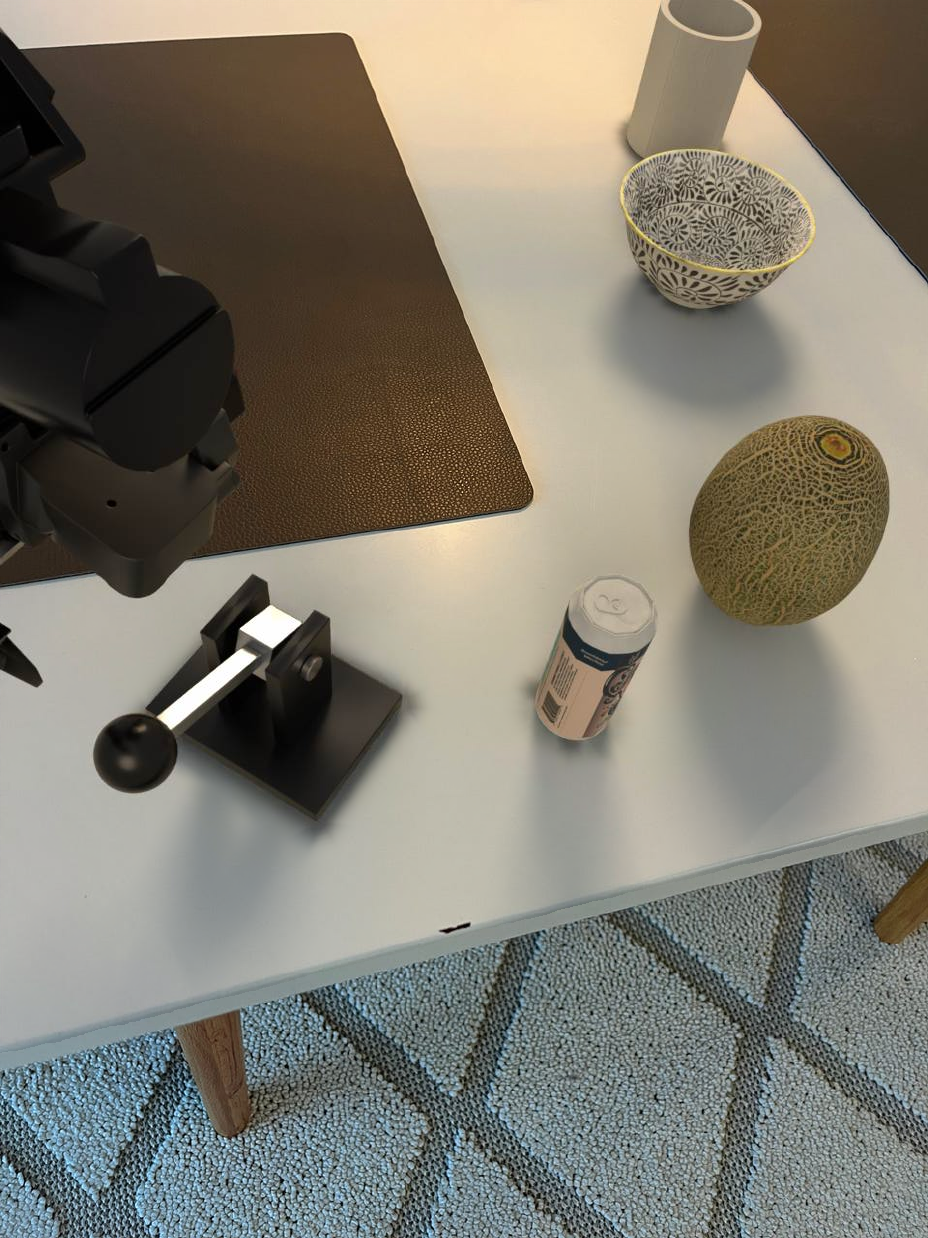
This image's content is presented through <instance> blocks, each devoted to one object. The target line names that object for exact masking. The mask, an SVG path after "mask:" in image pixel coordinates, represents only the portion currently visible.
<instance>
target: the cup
mask: <svg viewBox="0 0 928 1238" xmlns="http://www.w3.org/2000/svg"><path fill="white" fill-rule="evenodd" d="M762 24H763V23H762V19H761V17H760V15H759V13H758V12H757V11H756V10H755V9H754V8H753V6H751V5H749V4H748V3H747V2H745V1H743V0H661V1H660V4H659V7H658V11H657V16H656V20H655V23H654V28H653V32H652V35H651V38H650V44H649V47H648V51H647V55H646V58H645V62H644V66H643V70H642V74H641V76H640V77H641V78H640V82H639V84H638V89H637V92H636V97H635V101H634V105H633V109H632V113H631V116H630V119H629V124H628V128H627V131H626V138H627V142H628V144H629V146H630V148H631V149H632V150H633V151H634V152H635V153H636V154H637V155H638V156H640V157H641V158H643V160H644V159H646V158H648V157H651V156H653V155H656V154H659V153H663V152H667V151H673V150H680V149H705V150H713V151H719V149H720V147H721V145H722V141H723V138H724V135H725V132H726V129H727V127H728V124H729V121H730V118H731V115H732V112H733V109H734V107H735V104H736V101H737V98H738V96H739V92H740V90H741V86H742V83H743V80H744V78H745V76H746V72H747V69H748V66H749V63H750V62H751V61H750V60H751V58H752V54H753V52H754V50H755V46H756V43H757V40H758V38H759V34H760V32H761V29H762Z"/></svg>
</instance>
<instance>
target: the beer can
mask: <svg viewBox="0 0 928 1238" xmlns="http://www.w3.org/2000/svg"><path fill="white" fill-rule="evenodd" d="M658 624H659V619H658V611H657V607H656V605H655V600H654V599H653V598H652V596H651V594H650V593H649V592H648V590H647V589H646V588H645V585H643V583H642V582H640V581H638V580H636V579H633V578H631V577H630V576H627V575H626V574H623V573H621V572H620V573H607V574H597V575H596V576H595V577H592V578H589V579H588V580H585V581H584V582H583V583H582V584H580V585H579V586H577V588H576V589H575V590H574V591H573V593H572V595H571V596H570V599H569V602H568V604H567V607H566V610H565V613H564V616H563V618H562V621H561V623H560V627H559V629H558V632H557V635H556V637H555V640H554V644H553V646H552V649H551V652H550V655H549V657H548V660H547V662H546V665H545V668H544V671H543V673H542V676H541V679H540V682H539V685H538V688H537V690H536V693H535V697H534V698H535V703H534V706H535V711H536V714H537V716H538V718H539V719H540V721H541V723H542V724H543V725H544V726H545V727H546V729H547V730H549V731H550V732H551V733H553V734H554V735H556V736H558V737H560V738H563V739H566V740H571V741H583V740H584V741H585V740H588V739H589V740H590V739H591V738H594V737H596V736H598V735H599V734H600V733H601V732H602V731H604V730H605V728H606V727H607V726H608V724H609V722H610V721H611V719H612V717H613V715H614V713H615V711H616V709H617V708H618V705H619V703H620V702H621V700H622V698H623V697H624V694H625V693H626V690H627V689H628V687H629V685H630V683H631V681H632V678H633V677H634V675H635V674H636V671H637V670H638V667H639V665H640V664H641V662H642V660H643V659H644V656H645V654H646V652H647V651H648V649H649V647H650V646H651V643H652V641H653V639H654V638H655V636H656V633H657V629H658Z"/></svg>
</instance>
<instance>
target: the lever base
mask: <svg viewBox="0 0 928 1238" xmlns="http://www.w3.org/2000/svg"><path fill="white" fill-rule="evenodd" d="M268 583H269V582H268V581H266V580H265V579H263V578H262V577H260V576H258V575H256V574H255V573H251V575H250V576H249V577H248V578H247V579H246V580H245V581H244V582H243V583H242V584H241V586H240V587H239V588H238V589H237V590H236V591H235V592H234V593H233V595H231V597H230V598H229V599H228V600H227V601H226V602H225V603H224V604H223V605H222V607H221V608H219V610H218V611H217V612H216V613H215V614H214V615H213V616H212V618H211V619H210V620H209V621H208V622H207V623H206V624H205V625H204V626H203V628H201V629H200V630H199V634H200V635H199V636H200V638H201V642H202V644H201V645H200V646H199V648H198V649H197V650H196V651H195V652H194V653H193V654H192V655H191V657H189V659H188V660H187V661H186V662H185V663H184V664H183V665H182V667H181V668H180V669H179V670H178V671H177V672H176V673H175V674H174V675H173V676H172V678H171V679H170V680H169V681H168V682H167V683H166V684H165V685H164V687H163V688H162V689H161V690H160V691H159V692H158V693H157V694H156V695H155V697H153V699H152V700H151V701H150V702H149V704H148V705H146V706H145V708H144V709H145V712H146V714H149V715H153V716H155V717H156V716H158V715H159V714H160V713H161V712H163V711H164V710H165V709H166V708H168V707H169V706H170V705H171V704H172V703H174V702H175V701H176V700H177V699H179V698H180V697H181V696H182V695H184V694H185V693H186V692H187V691H188V690H190V689H191V688H192V687H193V686H195V685H196V684H197V683H198V682H200V681H201V680H202V679H203V678H204V677H206V676H207V675H208V674H209V673H211V672H212V671H213V670H214V669H216V668H217V667H218V666H219V665H220V664H222V663H223V662H224V661H225V660H227V659H228V658H229V657H230V656H232V655H233V654H234V653H235V648H236V642H237V636H238V630H239V628H241V627H242V626H243V625H245V624H246V623H247V622H248V621H250V620H251V619H252V618H253V617H255V616H256V615H257V614H259V613H260V612H261V611H262V610H264V609H265V608H266V607H267V606H269V605H271V599H270V590H269V584H268ZM302 623H303V624H302V626H301V627H300V628H299V629H298V630H297V632H296V633H295V634H294V635H293V636H292V638H291V639H290V640H289V641H288V642H287V644H286V645H285V646H284V647H283V648H282V650H281V651H280V652H279V653H278V654H277V655H276V657H275V658H274V659H273V660H272V661H271V663H270V664H269V665H268V666H267V667H266V669H265V678H266V681H265V680H263V679H261V678H260V677H258V676H256V675H255V674H253V673H252V674H251V675H250V676H248V677H247V678H246V679H245V680H244V681H243V682H241V683H240V684H239V685H238V686H237V687H236V688H234V689H233V690H232V691H231V692H230V693H229V694H227V695H226V696H225V697H224V698H223V699H222V700H220V701H219V702H218V703H217V704H216V705H215V706H213V707H212V708H211V709H210V710H209V711H208V712H206V713H205V714H204V715H203V716H202V717H201V718H199V719H198V720H197V721H196V722H195V723H194V724H192V725H191V726H190V727H189V728H188V729H187V730H185V731H184V732H183V733H182V734H181V735H180V736H179V737H180V738H181V739H182V740H184V741H186V742H188V743H189V744H190V745H192V746H194V747H196V748H197V749H199V750H200V751H202V752H204V753H205V754H206V755H209V756H210V757H212V758H213V759H215V760H216V761H218V762H219V763H221V764H223V765H224V766H225V767H228V768H229V769H230V770H233V771H234V772H235V773H237V774H238V775H240V776H242V777H244V778H245V779H247V780H248V781H250V782H252V784H253V783H254V784H255V785H257V786H258V787H260V788H261V789H263V791H266V792H268V793H269V794H271V795H273V796H275V797H276V798H277V799H279V800H280V801H282V802H283V803H285V804H286V805H288V806H290V807H292V808H293V809H295V810H297V811H298V812H299V813H301V814H302V815H304V816H306V817H308V818H310V819H311V820H313V821H314V822H316V823H317V822H318V821H319V820H320V818H321V817H323V814H324V813H325V811H326V810H327V809H328V808H329V806H330V804H331V803H332V802H333V800H334V799H335V798H336V796H337V795H338V793H339V792H340V791H341V789H342V788H343V786H344V785H345V784H346V782H347V781H348V780H349V778H350V777H351V775H352V774H353V772H354V771H355V770H356V768H357V767H358V766H359V764H360V763H361V761H362V760H363V758H365V756H366V755H367V753H368V752H369V750H370V749H371V748H372V746H373V745H374V743H375V742H376V741H377V739H378V738H379V736H380V735H381V734H382V732H383V731H384V730H385V728H386V726H387V725H388V723H389V722H390V721H391V719H392V718H393V717H394V716H395V714H396V713H397V711H398V710H399V708H400V707H401V706H402V704H403V693H400V692H399V691H398V690H395V689H394V688H392V687H390V686H388V685H387V684H385V683H383V682H382V681H380V680H378V679H376V678H375V677H373V676H372V675H369V674H368V673H366V672H364V671H363V670H361V669H360V668H358V667H356V666H354V665H352V664H350V663H349V662H347V661H345V660H344V659H342V658H340V657H338V656H337V655H335V654H333V653H332V636H331V635H332V633H331V632H332V631H331V630H332V629H331V617H329V616H328V615H326V614H324V613H322V612H321V611H319V610H317V609H314V610H313V611H312V612H311V613H310V615H309V616H308V617H307V619H306V620H305V621H304V622H302Z"/></svg>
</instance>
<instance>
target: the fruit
mask: <svg viewBox="0 0 928 1238" xmlns="http://www.w3.org/2000/svg"><path fill="white" fill-rule="evenodd" d="M890 492H891V491H890V480H889V474H888V469H887V466H886V463H885V461H884V459H883V456H882V454H881V452H880V451H879V449H878V448H877V446H876V445H875V444H874V443H873V441H872V440H871V439H870V438H869V437H868V436H866V434H865V433H864V432H863V431H861V430H859V429H858V428H857V427H854V426H853V425H851V424H849V423H847V422H845V421H843V420H841V419H838V418H835V417H830V416H824V415H814V414H806V415H799V416H793V417H789V418H783V419H780V420H777V421H774V422H771V423H769V424H766V425H764V426H762V427H760V428H758V429H757V430H754V431H752V432H751V433H749V434H747V435H746V436H745V437H743V438H742V439H741V440H739V442H737V443H736V444H735V445H734V446H732V447H731V448H730V449H728V451H726V453H724V455H723V456H722V457H721V459H720V460H719V461H718V463H717V464H715V466H714V468H713V469H712V470H711V471H710V473H709V475H708V476H707V477H706V479H705V481H704V482H703V484H702V485H701V488H700V489H699V491H698V493H697V495H696V497H695V500H694V503H693V506H692V509H691V514H690V518H689V527H688V542H689V543H688V544H689V552H690V557H691V561H692V563H693V564H692V565H693V568H694V572H695V575H696V576H697V579H698V581H699V583H700V585H701V587H702V588H703V591H704V592H705V593H706V595H707V596H708V598H709V599H710V600H711V602H713V604H714V605H715V606H716V607H717V608H718V609H719V610H720V611H722V612H723V613H724V614H726V615H727V616H728V617H730V618H733V619H735V620H737V621H740V622H742V623H745V624H747V625H750V626H756V627H783V626H784V627H785V626H793V625H798V624H802V623H805V622H807V621H810V620H813V619H816V618H817V617H820V616H821V615H823V614H825V613H827V612H828V611H830V610H832V609H834V608H835V607H837V606H838V605H839V604H841V603H842V602H843V601H844V600H845V599H846V598H847V597H848V596H849V595H850V594H851V593H852V592H853V591H854V589H856V587H857V586H858V585H859V584H860V583H861V582H862V580H863V578H864V577H865V575H866V573H867V571H868V569H869V568H870V566H871V564H872V562H873V560H874V558H875V557H876V555H877V552H878V550H879V547H880V545H881V543H882V540H883V537H884V535H885V532H886V527H887V524H888V520H889V514H890V505H891V503H890V502H891V501H890V495H891V494H890Z"/></svg>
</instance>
